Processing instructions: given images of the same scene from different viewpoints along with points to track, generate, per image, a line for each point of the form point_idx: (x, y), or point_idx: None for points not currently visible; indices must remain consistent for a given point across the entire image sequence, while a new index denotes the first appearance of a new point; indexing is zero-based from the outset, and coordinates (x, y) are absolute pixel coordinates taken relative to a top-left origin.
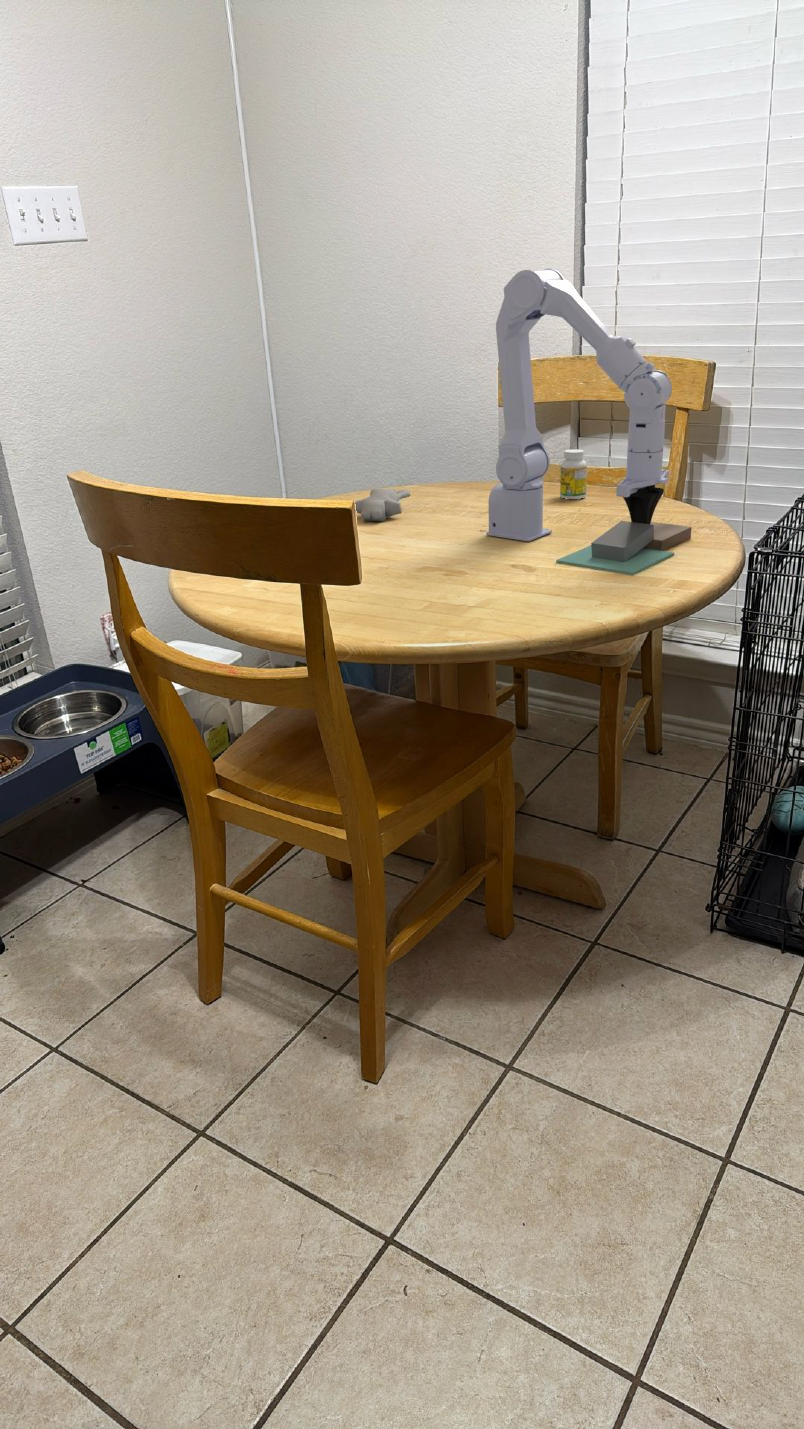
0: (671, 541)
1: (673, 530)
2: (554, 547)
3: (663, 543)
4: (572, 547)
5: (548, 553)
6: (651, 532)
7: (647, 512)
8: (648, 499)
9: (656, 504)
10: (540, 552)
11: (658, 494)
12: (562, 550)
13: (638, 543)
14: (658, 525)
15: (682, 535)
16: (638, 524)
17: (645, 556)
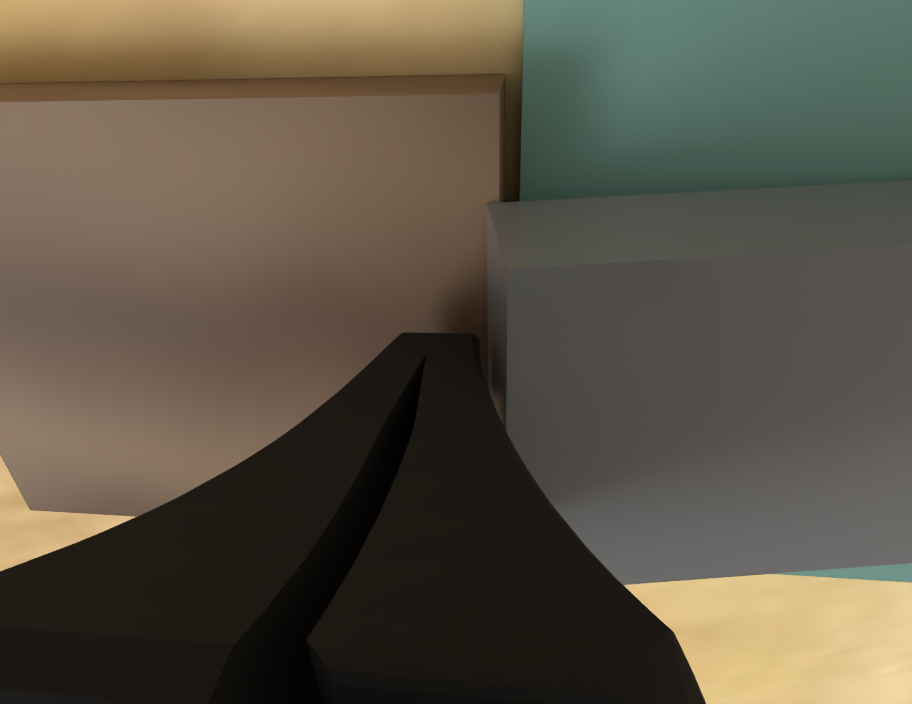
0: (279, 87)
1: (66, 198)
2: (707, 680)
3: (459, 88)
4: (666, 622)
5: (855, 666)
6: (558, 234)
7: (512, 455)
8: (677, 645)
9: (223, 485)
10: (845, 697)
11: (227, 627)
12: (757, 638)
13: (874, 213)
14: (45, 383)
15: (38, 93)
16: (549, 428)
17: (818, 93)
